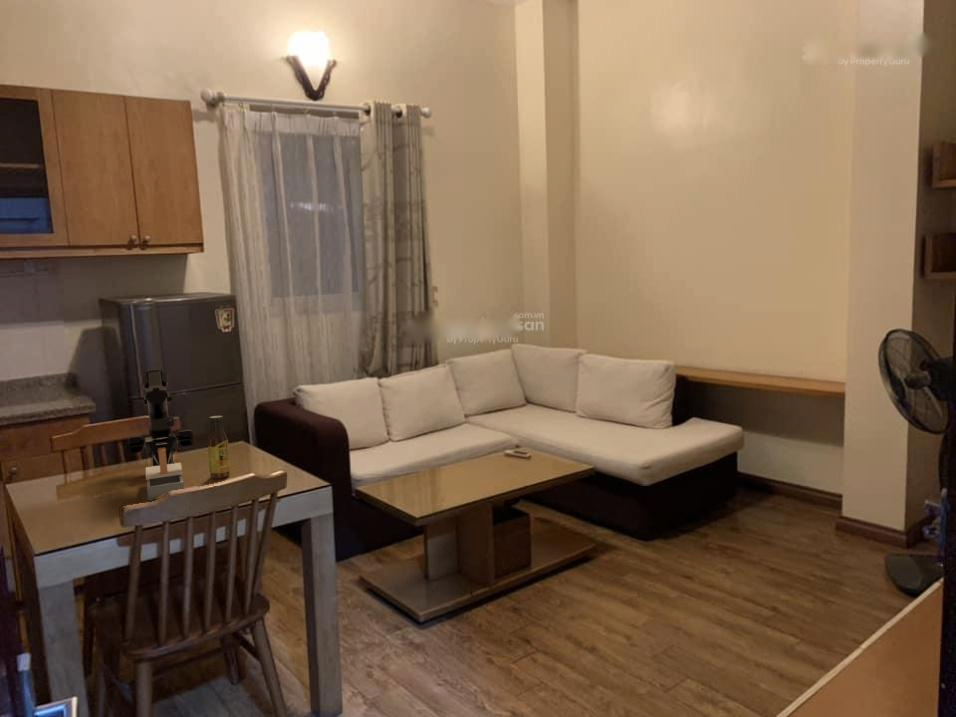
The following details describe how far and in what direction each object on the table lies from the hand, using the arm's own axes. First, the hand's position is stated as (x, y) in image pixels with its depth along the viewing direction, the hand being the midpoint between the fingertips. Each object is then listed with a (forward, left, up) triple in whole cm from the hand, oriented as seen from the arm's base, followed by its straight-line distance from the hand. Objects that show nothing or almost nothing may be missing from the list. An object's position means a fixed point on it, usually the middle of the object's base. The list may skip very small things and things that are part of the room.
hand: (163, 464), depth 221 cm
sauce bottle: (-15, +10, -8) cm, 19 cm away
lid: (-4, -3, -4) cm, 6 cm away
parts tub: (+3, +2, -8) cm, 9 cm away
